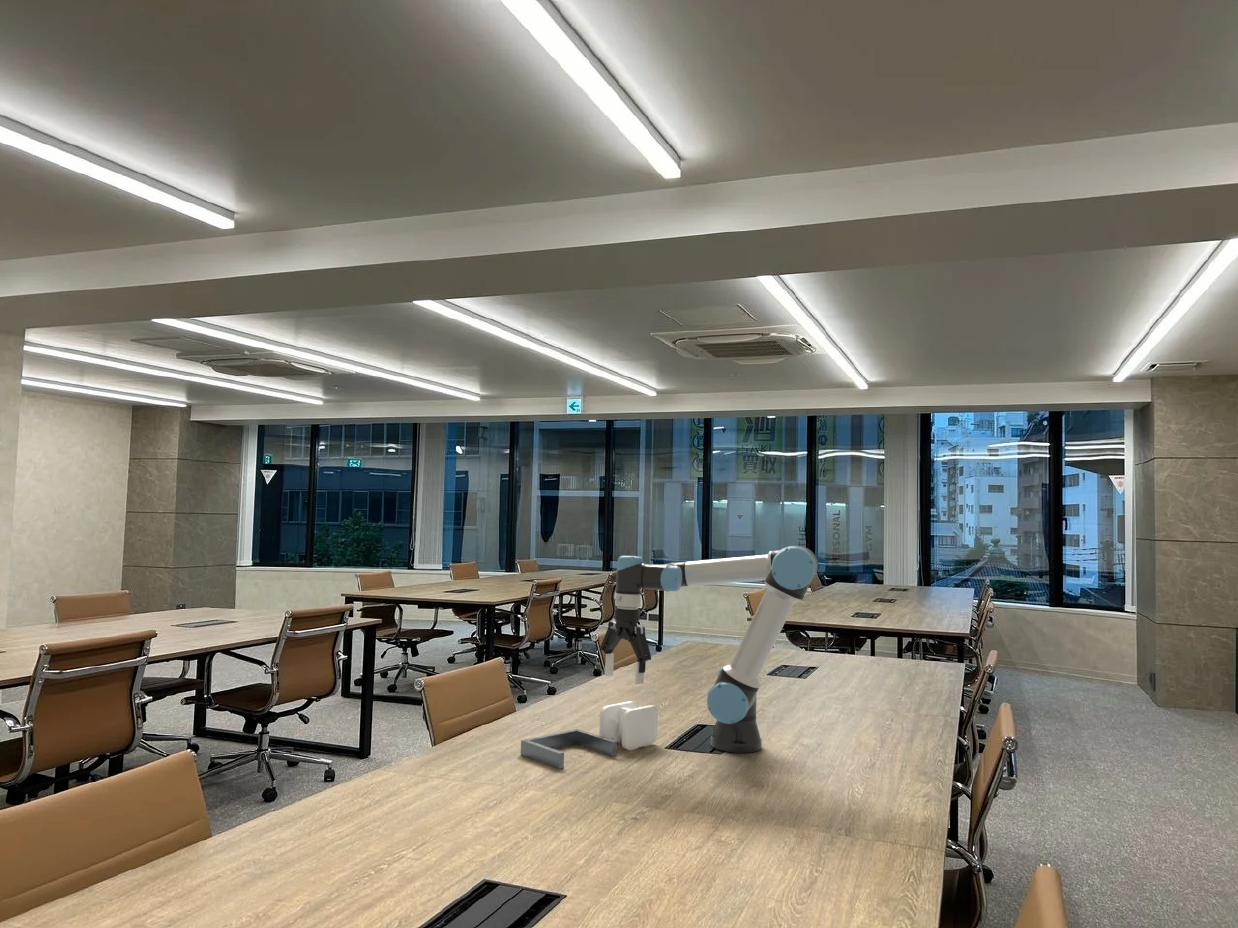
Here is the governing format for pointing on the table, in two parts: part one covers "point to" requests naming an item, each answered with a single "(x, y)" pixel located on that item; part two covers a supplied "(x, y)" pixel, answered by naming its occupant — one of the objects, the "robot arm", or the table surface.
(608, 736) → the cable organizer
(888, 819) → the table surface
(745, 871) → the table surface
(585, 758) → the table surface
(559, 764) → the bracket
